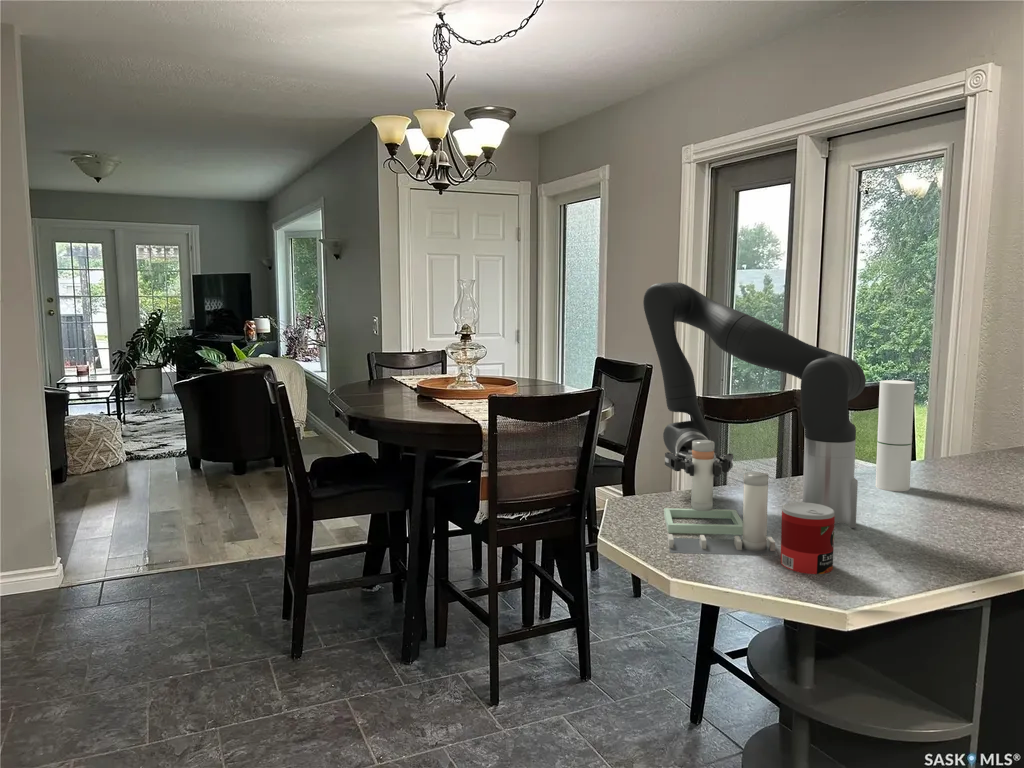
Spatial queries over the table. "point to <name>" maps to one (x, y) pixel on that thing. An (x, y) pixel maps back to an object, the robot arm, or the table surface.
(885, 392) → the cylindrical container
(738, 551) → the clip block
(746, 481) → the plain fuse
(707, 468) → the cylinder
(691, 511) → the tray
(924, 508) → the table surface
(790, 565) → the canned food
